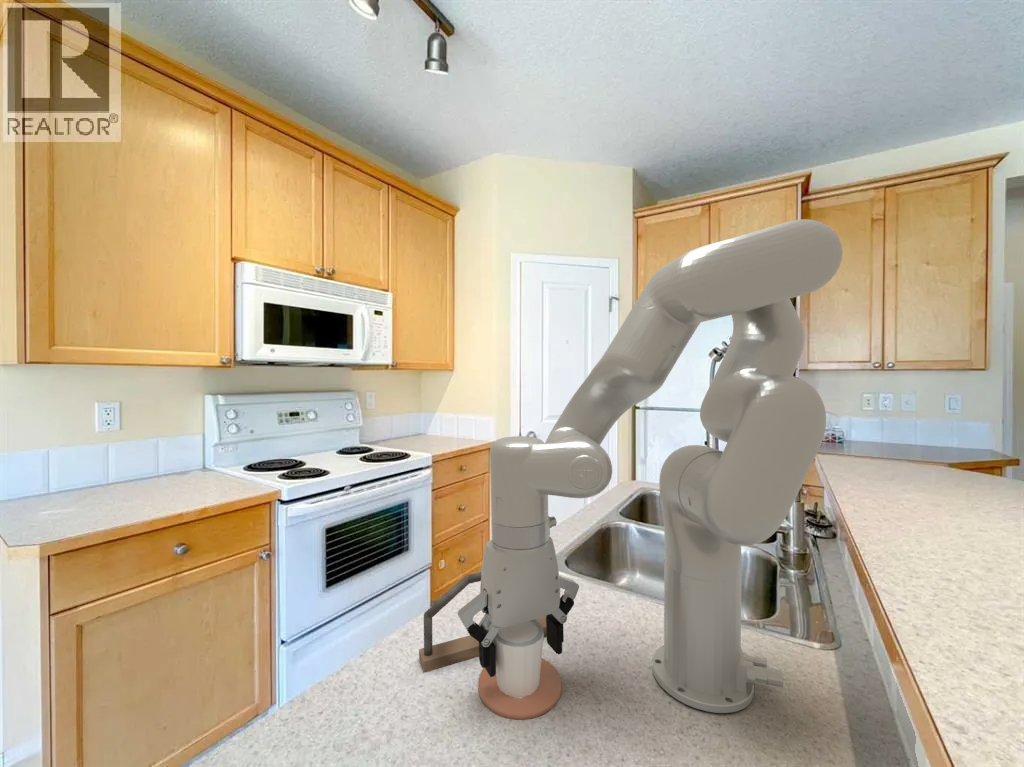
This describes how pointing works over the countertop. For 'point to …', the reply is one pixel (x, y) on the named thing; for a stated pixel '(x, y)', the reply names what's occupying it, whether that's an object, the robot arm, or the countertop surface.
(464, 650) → the arched handle
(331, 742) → the countertop surface
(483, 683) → the coaster
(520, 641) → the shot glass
